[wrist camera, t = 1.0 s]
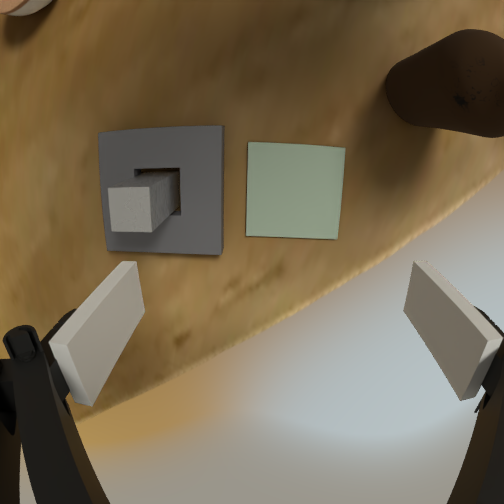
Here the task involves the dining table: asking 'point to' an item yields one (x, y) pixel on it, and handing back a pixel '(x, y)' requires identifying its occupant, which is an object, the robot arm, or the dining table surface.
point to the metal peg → (143, 201)
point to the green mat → (294, 190)
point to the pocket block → (191, 185)
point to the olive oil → (453, 84)
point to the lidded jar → (21, 6)
